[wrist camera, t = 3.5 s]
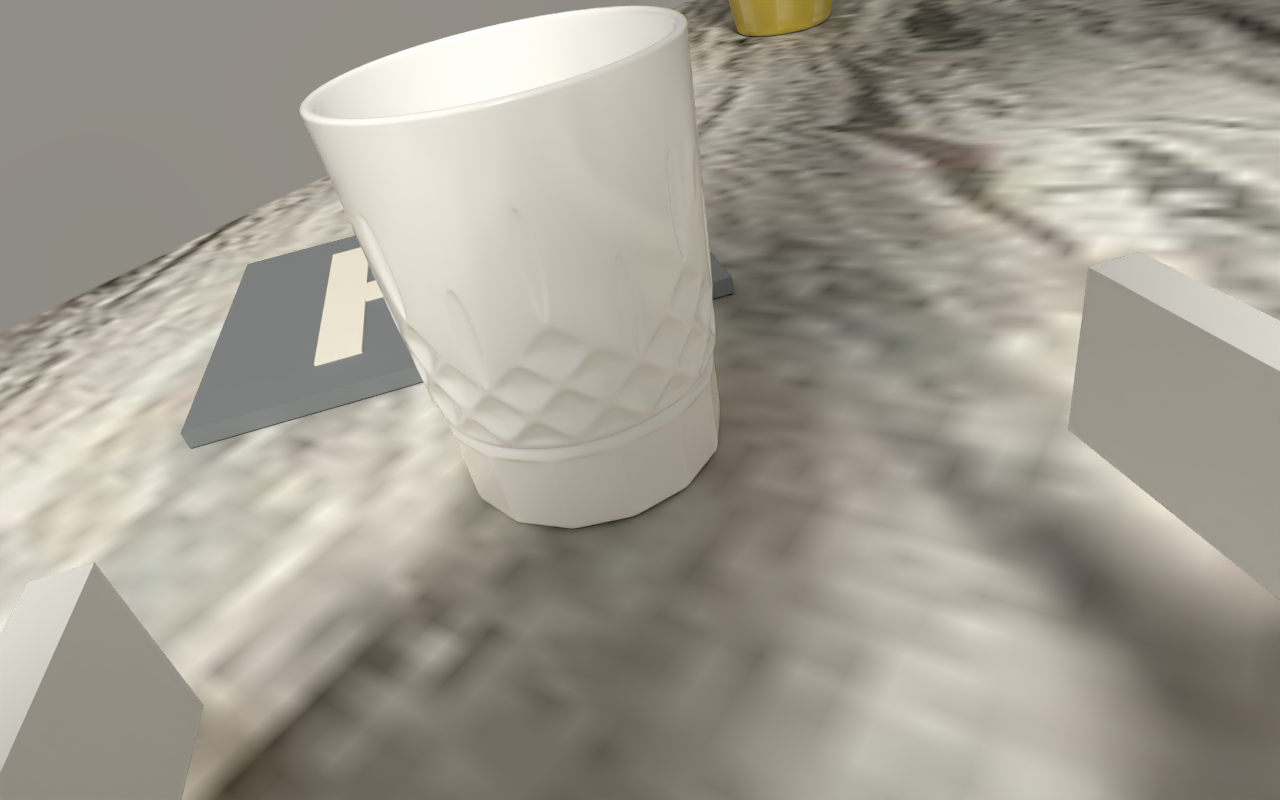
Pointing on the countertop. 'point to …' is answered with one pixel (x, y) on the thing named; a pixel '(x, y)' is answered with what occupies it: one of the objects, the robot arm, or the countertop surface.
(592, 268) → the white cup
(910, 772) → the countertop surface
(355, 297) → the letter board
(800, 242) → the countertop surface
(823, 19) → the plant pot
